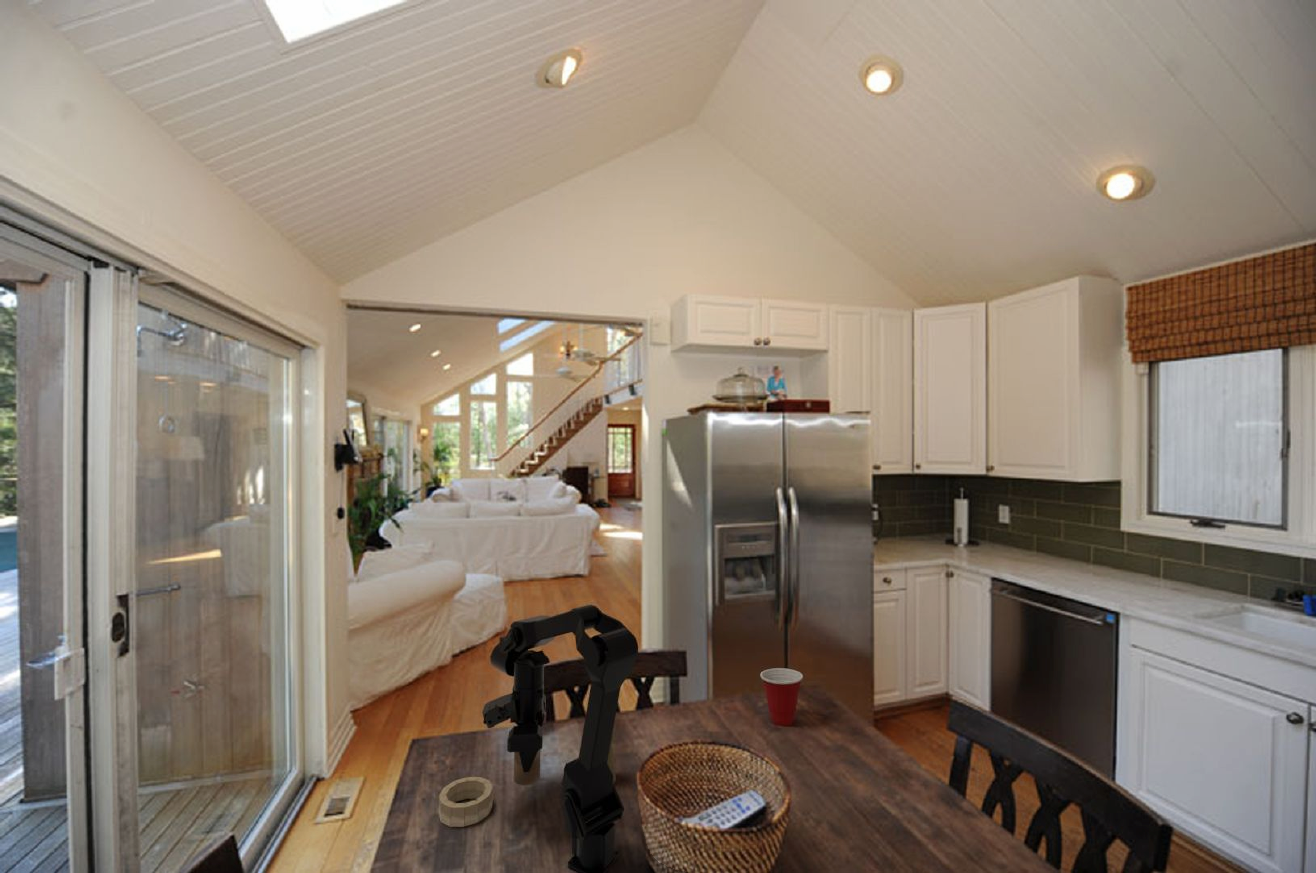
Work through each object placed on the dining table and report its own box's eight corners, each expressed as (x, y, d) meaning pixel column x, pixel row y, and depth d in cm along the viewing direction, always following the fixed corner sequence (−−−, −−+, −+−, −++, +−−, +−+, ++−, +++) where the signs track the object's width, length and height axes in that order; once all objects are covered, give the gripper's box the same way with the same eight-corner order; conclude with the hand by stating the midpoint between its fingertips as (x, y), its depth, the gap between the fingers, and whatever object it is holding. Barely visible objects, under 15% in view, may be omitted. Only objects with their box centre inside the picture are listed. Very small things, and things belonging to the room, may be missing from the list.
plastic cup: (777, 706, 149) (777, 662, 150) (811, 721, 141) (811, 674, 141) (751, 718, 142) (751, 671, 143) (785, 735, 134) (785, 685, 135)
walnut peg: (545, 774, 108) (546, 728, 108) (528, 787, 104) (528, 739, 104) (525, 767, 110) (526, 721, 111) (508, 780, 106) (509, 732, 106)
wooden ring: (501, 803, 107) (502, 785, 107) (464, 833, 99) (464, 813, 99) (467, 789, 111) (467, 772, 111) (428, 816, 103) (428, 797, 103)
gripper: (492, 666, 115) (490, 742, 115) (478, 707, 97) (476, 797, 97) (546, 664, 117) (545, 738, 117) (542, 703, 99) (541, 791, 98)
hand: (527, 763), depth 107 cm, fingers closed on walnut peg, 5 cm apart
